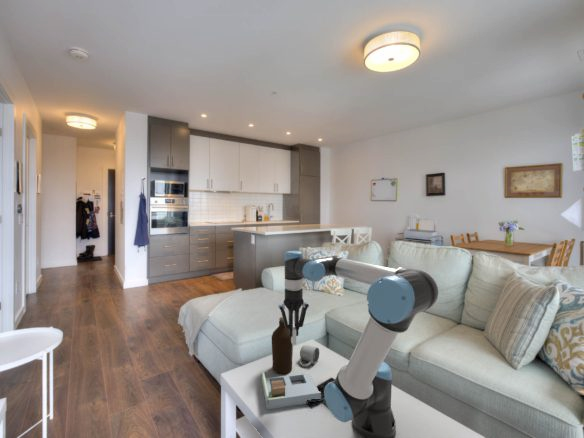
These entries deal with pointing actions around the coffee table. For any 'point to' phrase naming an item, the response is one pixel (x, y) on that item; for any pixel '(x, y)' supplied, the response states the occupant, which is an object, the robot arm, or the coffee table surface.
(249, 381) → the coffee table surface
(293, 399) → the board
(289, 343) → the olive oil
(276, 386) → the brown block
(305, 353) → the ceramic mug
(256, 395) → the coffee table surface
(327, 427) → the coffee table surface
